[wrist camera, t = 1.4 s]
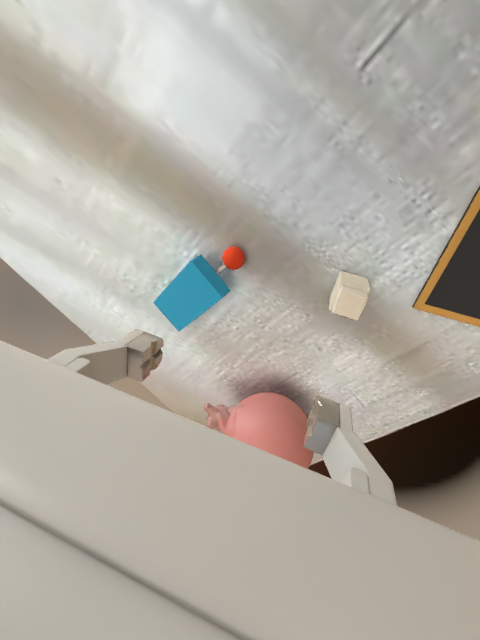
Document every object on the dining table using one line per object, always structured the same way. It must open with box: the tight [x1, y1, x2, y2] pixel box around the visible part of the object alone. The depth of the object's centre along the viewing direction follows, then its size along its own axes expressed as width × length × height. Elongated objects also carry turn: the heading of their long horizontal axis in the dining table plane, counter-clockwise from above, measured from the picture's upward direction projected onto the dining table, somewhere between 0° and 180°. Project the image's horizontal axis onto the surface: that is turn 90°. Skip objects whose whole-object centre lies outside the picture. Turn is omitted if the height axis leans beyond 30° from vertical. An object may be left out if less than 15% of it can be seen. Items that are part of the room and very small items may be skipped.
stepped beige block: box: [329, 271, 371, 321], centre depth 37 cm, size 4×4×7 cm
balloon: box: [204, 392, 314, 469], centre depth 47 cm, size 15×20×15 cm
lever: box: [153, 247, 245, 331], centre depth 45 cm, size 7×7×18 cm
